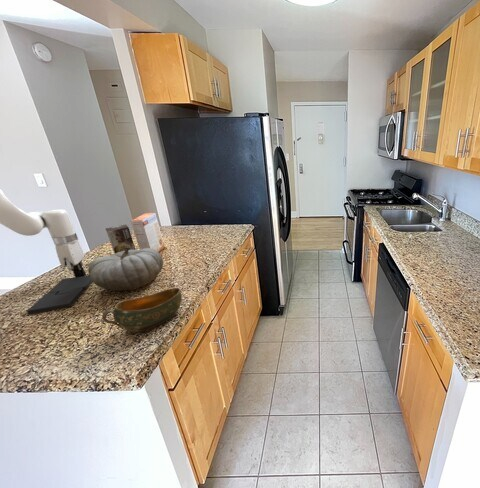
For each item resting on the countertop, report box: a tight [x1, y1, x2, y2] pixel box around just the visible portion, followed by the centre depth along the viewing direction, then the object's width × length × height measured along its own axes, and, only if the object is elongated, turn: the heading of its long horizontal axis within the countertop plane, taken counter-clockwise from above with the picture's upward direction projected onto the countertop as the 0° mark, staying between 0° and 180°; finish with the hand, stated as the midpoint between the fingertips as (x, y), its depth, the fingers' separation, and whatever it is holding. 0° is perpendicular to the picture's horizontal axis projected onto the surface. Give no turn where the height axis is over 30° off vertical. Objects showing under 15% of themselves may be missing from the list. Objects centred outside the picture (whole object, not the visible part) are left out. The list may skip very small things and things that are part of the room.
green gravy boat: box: [101, 287, 182, 334], centre depth 87 cm, size 13×20×10 cm, turn 111°
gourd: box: [87, 247, 164, 291], centre depth 109 cm, size 25×25×17 cm
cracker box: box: [130, 212, 166, 253], centre depth 139 cm, size 14×6×21 cm, turn 6°
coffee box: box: [105, 224, 137, 254], centre depth 136 cm, size 9×6×16 cm
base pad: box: [26, 288, 85, 315], centre depth 100 cm, size 12×12×2 cm
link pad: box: [47, 274, 93, 295], centre depth 109 cm, size 12×14×2 cm
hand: (80, 276), depth 117 cm, fingers closed
